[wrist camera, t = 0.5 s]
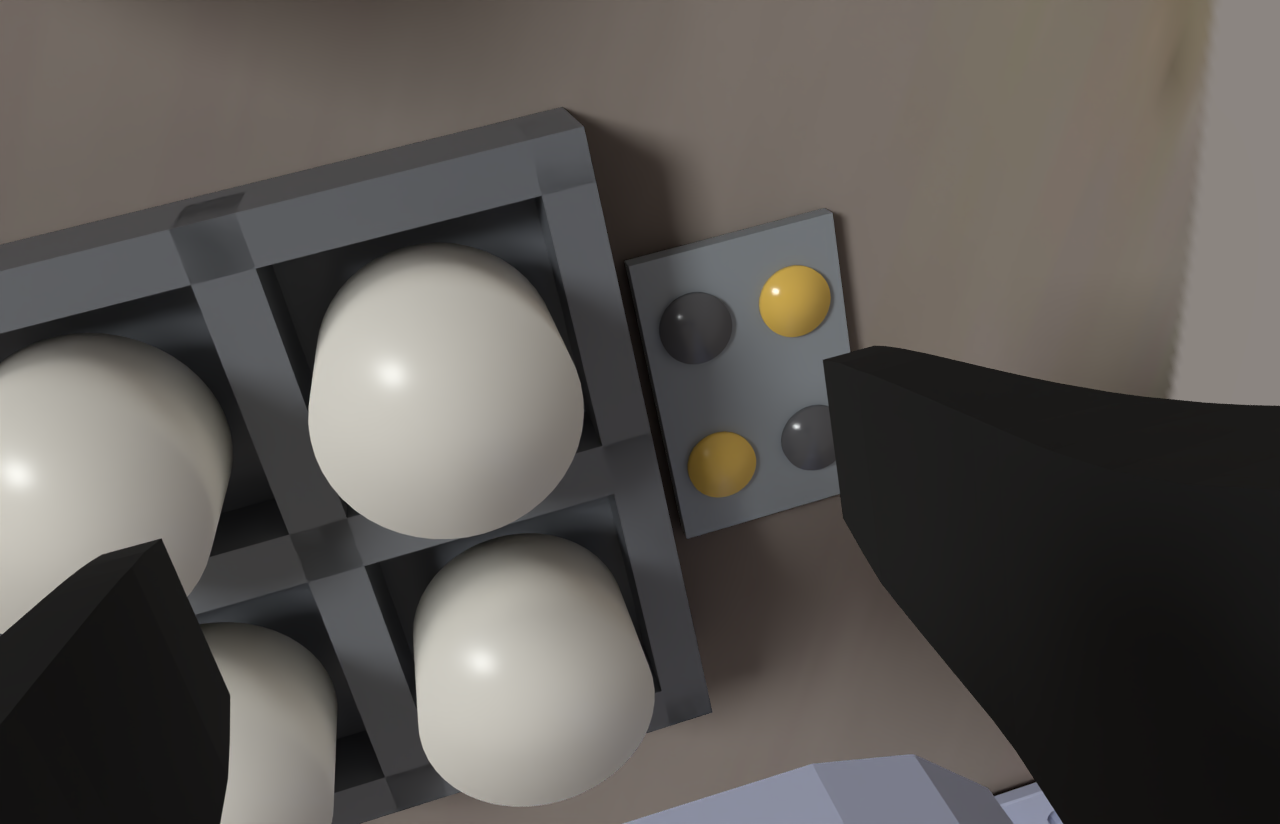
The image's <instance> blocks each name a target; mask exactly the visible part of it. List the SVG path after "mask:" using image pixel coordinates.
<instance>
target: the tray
mask: <svg viewBox="0 0 1280 824" xmlns="http://www.w3.org/2000/svg"><path fill="white" fill-rule="evenodd" d="M436 242H441V243H455V244H460V245H466V246H471V247H474V248H477V249H480V250H483V251H486V252H488V253H490V254H492V255H494V256H496V257H498V258H501V259H502V260H504V261H505V262H507V263H508V264H510V265H511V266H513V267H514V268H515V269H517V270H518V271H519V272H520V273H521V274H522V275H523V276H525V277H526V278H527V279H528V281H529V282H530V283H531V284H532V285H533V286H534V287H535V289H536V290H537V291H538V293H539V294H540V296H541V297H542V299H543V300H544V302H545V304H546V306H547V308H548V310H549V313H550V315H551V317H552V319H553V321H554V323H555V325H556V327H557V329H558V332H559V334H560V336H561V338H562V340H563V342H564V344H565V346H566V348H567V351H568V353H569V355H570V357H571V359H572V361H573V363H574V365H575V368H576V370H577V374H578V377H579V380H580V383H581V388H582V394H583V402H584V419H583V427H582V434H581V437H580V441H579V445H578V448H577V451H576V453H575V456H574V458H573V461H572V463H571V465H570V466H569V468H568V470H567V472H566V473H565V475H564V477H563V478H562V479H561V481H560V482H559V483H558V485H557V486H556V487H555V489H554V490H553V491H552V492H551V493H550V494H549V495H548V496H547V497H546V498H545V499H544V500H543V501H542V502H541V503H540V504H538V505H537V506H536V507H535V508H534V509H532V510H531V511H530V512H528V513H527V514H525V515H524V516H522V517H520V518H519V519H517V520H516V521H514V522H511V523H509V524H507V525H505V526H503V527H501V528H499V529H496V530H493V531H490V532H487V533H484V534H480V535H475V536H471V537H465V538H456V539H428V538H420V537H414V536H410V535H405V534H401V533H398V532H395V531H392V530H390V529H387V528H384V527H382V526H380V525H378V524H376V523H374V522H372V521H370V520H369V519H367V518H366V517H364V516H363V515H361V514H360V513H358V512H357V511H355V510H354V509H353V508H352V507H351V506H350V505H348V504H347V503H346V502H345V501H344V500H343V499H342V498H341V497H340V496H339V495H338V493H337V492H336V491H335V490H334V489H333V488H332V486H331V485H330V483H329V482H328V480H327V479H326V477H325V476H324V474H323V472H322V471H321V468H320V466H319V464H318V462H317V459H316V457H315V454H314V451H313V447H312V444H311V440H310V432H309V425H308V415H309V400H310V393H311V385H312V377H313V369H314V362H315V354H316V346H317V340H318V334H319V330H320V326H321V323H322V320H323V317H324V315H325V313H326V311H327V309H328V307H329V304H330V303H331V301H332V300H333V298H334V297H335V295H336V294H337V292H338V291H339V289H340V288H341V287H342V286H343V285H344V284H345V282H346V281H347V280H348V279H349V278H350V277H351V276H352V275H354V274H355V273H356V272H357V271H358V270H359V269H361V268H362V267H363V266H365V265H366V264H368V263H369V262H371V261H372V260H374V259H376V258H378V257H380V256H382V255H384V254H386V253H388V252H390V251H393V250H397V249H400V248H403V247H406V246H411V245H416V244H421V243H436ZM76 333H104V334H111V335H117V336H123V337H127V338H130V339H134V340H138V341H141V342H144V343H146V344H149V345H151V346H154V347H156V348H158V349H160V350H162V351H164V352H166V353H168V354H169V355H171V356H173V357H174V358H176V359H177V360H179V361H180V362H182V363H183V364H185V365H186V366H187V367H188V368H190V369H191V370H192V371H193V372H194V373H195V374H196V375H197V376H198V377H200V379H201V380H202V381H203V382H204V383H205V384H206V385H207V387H208V388H209V389H210V390H211V392H212V393H213V395H214V396H215V398H216V399H217V401H218V402H219V404H220V406H221V408H222V410H223V412H224V414H225V416H226V419H227V422H228V425H229V428H230V432H231V438H232V444H233V462H232V469H231V475H230V479H229V483H228V487H227V491H226V495H225V498H224V502H223V506H222V510H221V514H220V518H219V522H218V526H217V529H216V533H215V537H214V541H213V545H212V549H211V552H210V556H209V559H208V562H207V566H206V568H205V570H204V572H203V574H202V576H201V578H200V580H199V581H198V583H197V584H196V586H195V587H194V589H193V590H192V592H191V593H190V594H189V595H188V596H187V597H188V600H189V602H190V604H191V607H192V609H193V611H194V613H195V616H196V618H197V620H198V623H199V624H206V623H214V622H236V623H247V624H252V625H257V626H262V627H265V628H268V629H271V630H274V631H277V632H279V633H281V634H283V635H286V636H288V637H290V638H291V639H293V640H295V641H296V642H298V643H300V644H301V645H302V646H304V647H305V648H306V649H307V650H309V651H310V652H311V653H312V654H313V655H314V656H315V657H316V658H317V659H318V660H319V661H320V662H321V664H322V665H323V667H324V668H325V670H326V671H327V673H328V675H329V677H330V679H331V681H332V683H333V686H334V689H335V692H336V697H337V704H338V711H337V737H336V760H335V784H334V808H333V818H332V823H331V824H360V823H363V822H367V821H370V820H373V819H376V818H379V817H382V816H386V815H389V814H392V813H395V812H398V811H401V810H405V809H408V808H411V807H414V806H417V805H420V804H424V803H427V802H430V801H433V800H436V799H439V798H443V797H446V796H449V795H452V794H455V793H459V792H461V791H459V790H457V789H456V788H454V787H453V786H452V785H450V784H449V783H448V782H447V781H445V780H444V779H443V778H442V777H441V776H440V775H439V774H438V772H437V771H436V770H435V769H434V767H433V766H432V765H431V763H430V762H429V760H428V758H427V756H426V754H425V752H424V750H423V747H422V743H421V740H420V736H419V726H418V712H417V695H416V679H415V662H414V646H413V622H414V617H415V613H416V609H417V606H418V604H419V601H420V598H421V596H422V594H423V593H424V591H425V589H426V587H427V586H428V584H429V583H430V582H431V580H432V579H433V578H434V576H435V575H436V574H437V573H438V572H439V571H440V570H441V569H442V568H443V567H444V566H445V565H446V564H447V563H448V562H450V561H451V560H452V559H453V558H454V557H456V556H457V555H459V554H461V553H462V552H464V551H465V550H467V549H469V548H471V547H473V546H475V545H477V544H479V543H482V542H484V541H487V540H490V539H493V538H497V537H501V536H505V535H512V534H521V533H538V534H546V535H552V536H556V537H560V538H564V539H567V540H569V541H572V542H575V543H577V544H579V545H580V546H582V547H584V548H586V549H588V550H589V551H590V552H592V553H593V554H594V555H596V556H597V557H598V558H599V559H600V560H601V561H602V562H603V563H604V564H605V565H606V566H607V568H608V569H609V570H610V572H611V573H612V574H613V576H614V578H615V580H616V582H617V584H618V586H619V589H620V591H621V594H622V597H623V599H624V602H625V604H626V607H627V610H628V612H629V615H630V618H631V620H632V623H633V626H634V628H635V631H636V633H637V636H638V639H639V641H640V644H641V647H642V649H643V652H644V654H645V657H646V660H647V662H648V665H649V668H650V671H651V674H652V677H653V683H654V689H655V702H654V709H653V715H652V718H651V721H650V725H649V728H648V730H647V732H646V733H649V732H652V731H655V730H658V729H661V728H665V727H668V726H671V725H674V724H677V723H680V722H684V721H687V720H690V719H693V718H696V717H699V716H703V715H706V714H709V713H712V708H711V704H710V699H709V695H708V690H707V686H706V681H705V676H704V672H703V667H702V663H701V658H700V654H699V649H698V645H697V640H696V635H695V631H694V626H693V622H692V617H691V613H690V608H689V604H688V599H687V594H686V590H685V585H684V581H683V576H682V572H681V567H680V562H679V558H678V553H677V549H676V544H675V540H674V535H673V531H672V526H671V521H670V517H669V512H668V508H667V503H666V499H665V494H664V490H663V485H662V480H661V476H660V471H659V467H658V462H657V458H656V453H655V449H654V444H653V439H652V435H651V430H650V426H649V421H648V417H647V412H646V408H645V403H644V398H643V394H642V389H641V385H640V380H639V376H638V371H637V366H636V362H635V357H634V353H633V348H632V344H631V339H630V335H629V330H628V325H627V321H626V316H625V312H624V307H623V303H622V298H621V294H620V289H619V284H618V280H617V275H616V271H615V266H614V262H613V257H612V253H611V248H610V243H609V239H608V234H607V230H606V225H605V221H604V216H603V212H602V207H601V202H600V198H599V193H598V189H597V184H596V180H595V175H594V170H593V166H592V161H591V157H590V152H589V148H588V143H587V139H586V134H585V129H584V126H583V125H582V124H581V123H579V122H578V121H577V120H576V119H575V118H574V117H573V116H572V115H571V114H570V113H568V112H567V111H566V110H565V109H564V108H563V107H560V108H556V109H552V110H548V111H544V112H540V113H536V114H532V115H527V116H523V117H519V118H515V119H511V120H507V121H503V122H499V123H495V124H491V125H487V126H483V127H479V128H474V129H470V130H466V131H462V132H458V133H454V134H450V135H446V136H442V137H438V138H434V139H430V140H426V141H422V142H417V143H413V144H409V145H405V146H401V147H397V148H393V149H389V150H385V151H381V152H377V153H373V154H369V155H364V156H360V157H356V158H352V159H348V160H344V161H340V162H336V163H332V164H328V165H324V166H320V167H316V168H312V169H307V170H303V171H299V172H295V173H291V174H287V175H283V176H279V177H275V178H271V179H267V180H263V181H259V182H254V183H250V184H246V185H242V186H238V187H234V188H230V189H226V190H222V191H218V192H214V193H210V194H206V195H202V196H197V197H193V198H189V199H185V200H181V201H177V202H173V203H169V204H165V205H161V206H157V207H153V208H149V209H144V210H140V211H136V212H132V213H128V214H124V215H120V216H116V217H112V218H108V219H104V220H100V221H96V222H92V223H87V224H83V225H79V226H75V227H71V228H67V229H63V230H59V231H55V232H51V233H47V234H43V235H39V236H34V237H30V238H26V239H22V240H18V241H14V242H10V243H6V244H2V245H0V363H1V362H2V361H3V360H4V359H6V358H7V357H9V356H10V355H12V354H13V353H15V352H16V351H18V350H20V349H22V348H24V347H26V346H28V345H30V344H33V343H35V342H38V341H41V340H44V339H47V338H50V337H56V336H61V335H66V334H76ZM1 635H2V634H0V636H1Z"/></svg>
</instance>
